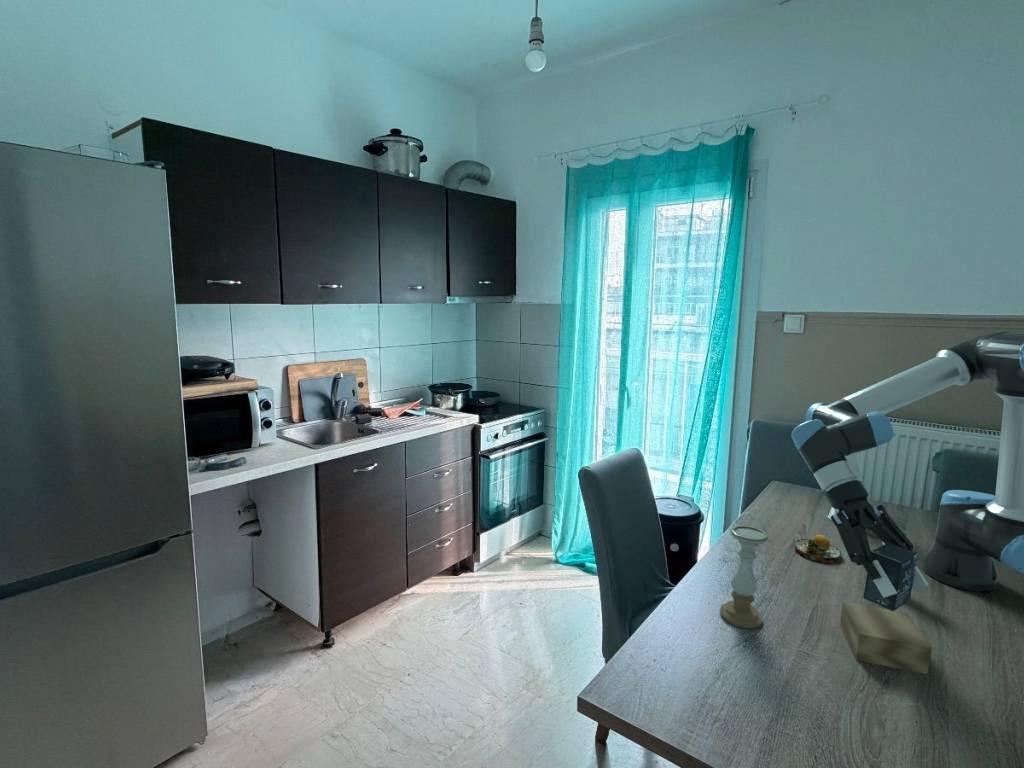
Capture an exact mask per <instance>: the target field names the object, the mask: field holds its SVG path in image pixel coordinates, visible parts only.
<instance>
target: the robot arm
mask: <svg viewBox="0 0 1024 768" xmlns="http://www.w3.org/2000/svg"><path fill="white" fill-rule="evenodd" d="M987 380H988V381H994V382H995V383H996V385H995V394H996V395H997V396H998V397H999V398H1000V399H1002V400H1003V405H1002V406H1003V407H1002V408H1003V409H1002V416H1001V417H1002V419H1001V431H1000V441H999V451H998V452H999V453H998V463H997V464H998V465H997V475H996V485H995V495H994V494H990V493H985V492H979V491H975V490H974V491H973V490H964V489H951V490H949V489H948V490H947V491H945V492H944V493H943V494H942V497H941V500H940V502H939V509H938V516H937V523H936V528H935V529H936V530H935V535H934V536H935V537H934V542H933V544H931V547H930V548H929V549H928V551H927V553H926V554H925V556H924V557H923V559H922V563H921V569H922V570H923V572H924V573H925V574H926V575H928V576H929V577H931V578H933V579H934V580H937V581H938V582H941V583H944V584H946V585H948V586H952V587H955V588H957V589H961V588H963V589H962V590H965V589H968V590H967V591H970V590H973V591H972V592H977V591H990V590H993V589H995V588H996V589H997V585H998V575H997V570H996V567H995V562H994V560H996V561H998V562H1000V563H1001V564H1002V565H1003V566H1005V567H1007V568H1009V569H1012V570H1014V571H1016V572H1018V573H1021V574H1023V575H1024V332H1014V331H993V332H988V333H984V334H979V335H977V336H973V337H971V338H968V339H966V340H965V339H964V340H963V341H960V342H958V343H955V344H953V345H951V346H948V347H946V348H944V349H942V350H939V351H938V352H937V353H936V355H935V357H934V358H931V359H929V360H927V361H925V362H923V363H920V364H918V365H916V366H914V367H911V368H909V369H906V370H904V371H901V372H900V373H897V374H896V375H893V376H891V377H888V378H886V379H884V380H882V381H879V382H877V383H875V384H872V385H870V386H867V387H866V388H863V389H861V390H859V391H856V392H854V393H852V394H850V395H847V396H844V397H843V398H841V399H838V400H835V401H834V402H831V403H828V402H817V403H814V404H812V405H811V406H809V408H808V409H807V410H806V414H805V421H804V422H803V423H800V424H799V425H797V426H796V427H794V428H793V430H792V432H791V435H790V436H791V439H792V441H793V443H794V445H795V447H796V449H797V451H798V452H799V454H800V455H801V457H802V459H803V460H804V462H805V464H806V465H807V466H808V468H809V469H810V471H811V473H812V475H813V476H814V478H815V479H816V482H817V484H818V485H819V486H820V489H821V490H822V491H823V492H825V497H826V499H827V500H828V502H829V504H830V506H831V508H832V507H833V508H834V509H838V510H839V512H838V513H836V514H834V515H832V516H831V517H830V518H831V520H832V521H833V522H832V521H831V522H832V523H833V524H834V525H835V526H836V527H835V528H836V529H837V533H838V534H839V536H840V538H841V540H842V544H843V545H844V548H845V551H846V552H847V555H848V558H849V560H850V561H851V562H852V563H853V564H854V563H855V564H856V565H857V566H863V568H864V569H865V571H866V574H867V573H868V575H869V576H870V578H871V579H872V580H873V581H874V583H875V584H876V586H877V588H878V589H879V591H880V593H881V594H882V596H883V598H885V597H888V596H891V595H894V594H897V592H896V590H895V588H894V587H893V585H892V583H891V582H890V580H889V578H888V577H887V575H886V573H885V572H884V570H883V569H882V567H881V565H880V564H879V562H878V560H874V561H872V560H873V558H872V554H871V551H872V550H871V547H870V543H869V538H868V535H867V532H866V531H869V532H872V533H873V534H874V535H876V537H877V538H879V540H881V541H883V542H884V543H885V544H886V543H891V544H893V545H896V546H899V547H902V548H905V549H907V550H910V551H913V550H914V544H913V543H912V542H911V541H910V539H909V538H908V537H907V536H906V535H905V534H904V532H903V531H902V530H901V529H900V527H899V525H897V523H896V522H895V521H894V520H893V519H892V517H891V516H890V515H889V514H888V511H887V510H886V508H885V507H884V505H883V504H879V505H877V506H873V505H872V504H871V503H870V502H869V501H868V500H867V499H868V497H869V493H868V490H867V489H866V488H865V486H864V484H863V483H862V482H861V481H859V480H856V479H857V477H858V476H857V475H856V473H855V472H854V470H853V469H852V467H851V466H850V464H849V463H848V461H847V459H846V458H845V456H848V455H851V454H854V453H858V452H859V453H861V452H864V451H867V450H871V449H874V448H878V447H880V446H882V445H885V444H888V443H889V442H891V441H892V440H893V438H894V436H895V435H894V434H895V433H894V428H893V424H892V423H891V421H890V419H889V418H888V416H886V414H888V413H890V412H893V411H895V410H897V409H899V408H902V407H905V406H907V405H909V404H912V403H913V402H916V401H918V400H921V399H923V398H926V397H928V396H930V395H933V394H935V393H938V392H940V391H943V390H944V389H946V388H950V387H951V386H953V385H955V386H965V385H967V384H969V383H972V382H976V381H977V382H978V381H987ZM904 543H905V544H904ZM913 552H914V551H913ZM929 585H930V584H929V583H928V582H927V580H926V578H925V577H924V575H923V573H922V572H921V570H920V569H919V567H918V565H917V564H916V568H915V574H914V580H913V586H912V589H914V590H917V589H921V588H924V587H927V586H929ZM996 589H995V590H996ZM993 591H994V590H993ZM990 592H991V591H990Z"/></svg>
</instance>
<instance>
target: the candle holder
mask: <svg viewBox="0 0 1024 768" xmlns="http://www.w3.org/2000/svg"><path fill="white" fill-rule="evenodd" d="M730 535H731V537H733V538H734V539H736V540H737V541H738V543H739V544H740V549H739V550H737V555H738V556H739V563H738V567H737V569H736V571H735V572H734V574H733V575H732V577H731V579H730V586H731V588H732V591H731V597H732V600H729V601H727V602H725V603H723V604H722V605H721V606H720V609H719V614H720V616H721V618H722V619H723V620H724V621H726V622H727V623H729V624H730V625H733V626H735V627H738V628H742V629H756V628H759V627H760V626H762V624H763V615H762V614H761V613H760V612H759V611H758V610H757V608H756V607H755V606H753V605H752V604H753V603H754V602H755V599H756V598H755V596H754V595H755V593H757V590H758V583H757V579H756V577H755V573H754V560H755V559H757V557H758V556H757V554H756V552H755V550H756V548H757V547H759V545H763V544H765V543H768V541H769V535H768V533H767V532H765V531H764V530H763V529H761V528H757V527H754V526H750V525H742V524H741V525H734V526H733V527H732V528H731V529H730Z"/></svg>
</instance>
